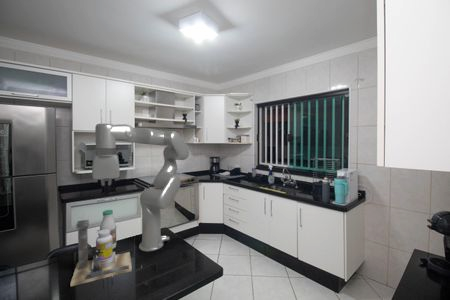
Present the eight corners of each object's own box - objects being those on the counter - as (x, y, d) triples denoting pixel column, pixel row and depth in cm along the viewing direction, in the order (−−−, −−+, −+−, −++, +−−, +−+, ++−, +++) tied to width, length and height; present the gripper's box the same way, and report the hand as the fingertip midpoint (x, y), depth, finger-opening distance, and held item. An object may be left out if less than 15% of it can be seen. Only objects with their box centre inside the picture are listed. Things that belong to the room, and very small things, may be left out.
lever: (102, 269, 88) (101, 245, 88) (101, 274, 85) (101, 249, 85) (91, 272, 86) (90, 247, 86) (90, 276, 83) (89, 251, 83)
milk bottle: (96, 249, 108) (95, 212, 107) (109, 242, 115) (109, 207, 115) (106, 252, 105) (106, 214, 104) (119, 245, 113) (119, 209, 112)
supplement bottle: (92, 259, 94) (92, 232, 93) (107, 253, 100) (106, 227, 99) (101, 264, 91) (101, 235, 90) (115, 256, 97) (115, 229, 96)
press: (129, 254, 104) (129, 212, 103) (131, 270, 91) (131, 223, 90) (77, 265, 94) (76, 219, 93) (70, 286, 81) (69, 232, 80)
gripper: (84, 153, 82) (85, 198, 83) (125, 152, 89) (126, 194, 90) (86, 152, 89) (87, 194, 90) (124, 151, 96) (125, 190, 97)
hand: (106, 194), depth 90 cm, fingers closed
